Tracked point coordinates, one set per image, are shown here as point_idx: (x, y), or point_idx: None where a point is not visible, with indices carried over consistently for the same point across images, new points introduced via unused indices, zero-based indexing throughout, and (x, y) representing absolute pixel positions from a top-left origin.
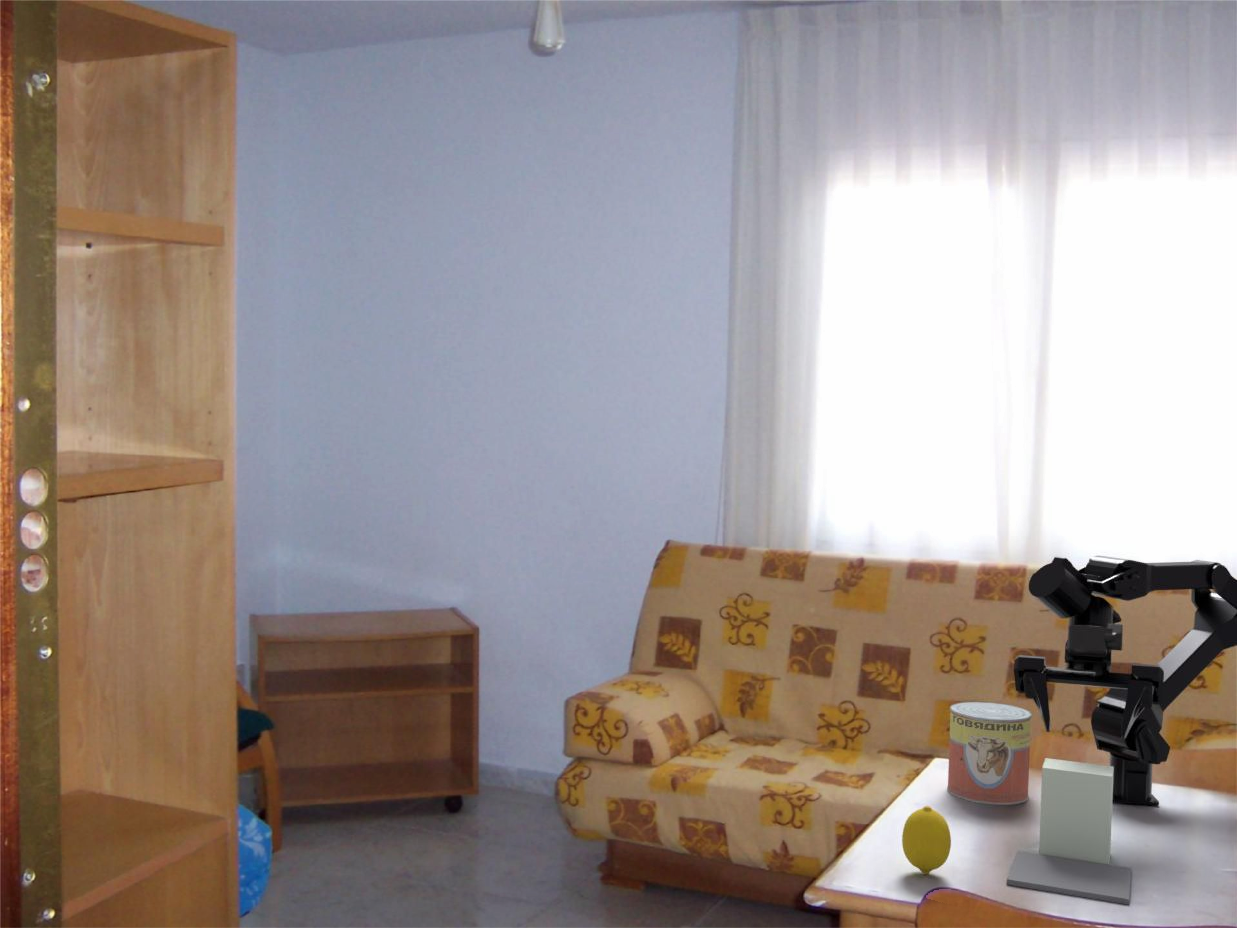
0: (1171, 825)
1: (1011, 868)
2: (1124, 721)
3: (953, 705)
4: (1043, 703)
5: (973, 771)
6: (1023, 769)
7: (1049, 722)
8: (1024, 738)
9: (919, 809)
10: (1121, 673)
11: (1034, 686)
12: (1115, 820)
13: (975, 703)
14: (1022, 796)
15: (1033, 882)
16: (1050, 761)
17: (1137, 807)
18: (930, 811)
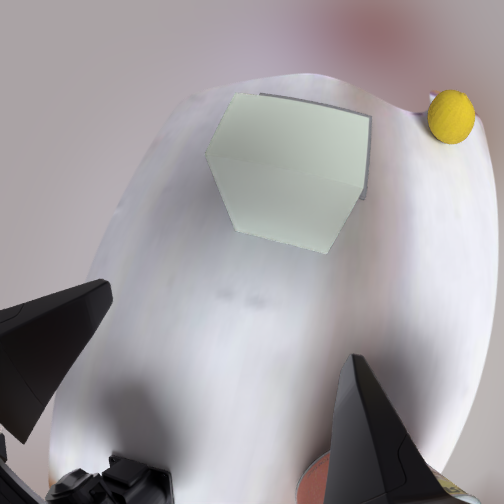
0: (112, 378)
1: (369, 140)
2: (70, 296)
3: None
4: (395, 432)
5: None
6: (322, 487)
7: (354, 367)
8: None
9: (470, 103)
10: None
11: (454, 499)
12: (182, 397)
13: None
14: (316, 465)
15: (347, 111)
16: (352, 161)
17: (138, 454)
18: (459, 93)
